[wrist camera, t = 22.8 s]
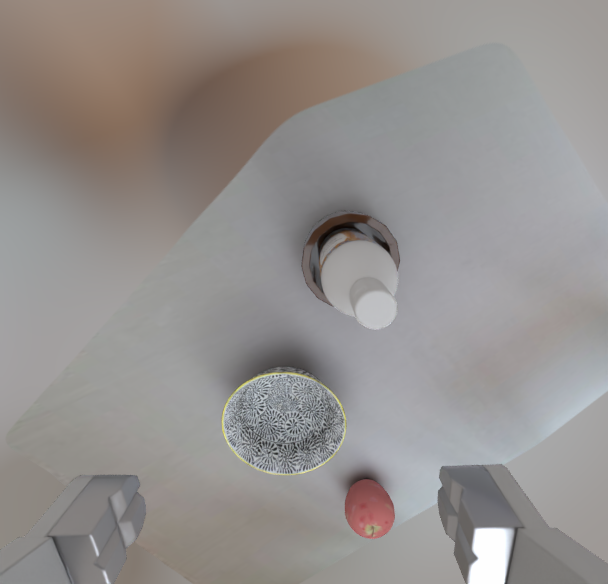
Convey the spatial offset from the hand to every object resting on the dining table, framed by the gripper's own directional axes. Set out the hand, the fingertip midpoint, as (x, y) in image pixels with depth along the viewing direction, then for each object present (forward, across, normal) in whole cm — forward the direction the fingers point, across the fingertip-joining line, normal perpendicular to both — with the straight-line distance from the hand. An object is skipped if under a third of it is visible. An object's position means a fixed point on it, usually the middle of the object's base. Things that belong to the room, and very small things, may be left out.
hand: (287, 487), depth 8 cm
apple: (+34, -7, +40) cm, 53 cm away
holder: (+34, -5, 0) cm, 34 cm away
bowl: (+34, +4, +21) cm, 40 cm away
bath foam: (+34, -5, 0) cm, 34 cm away
